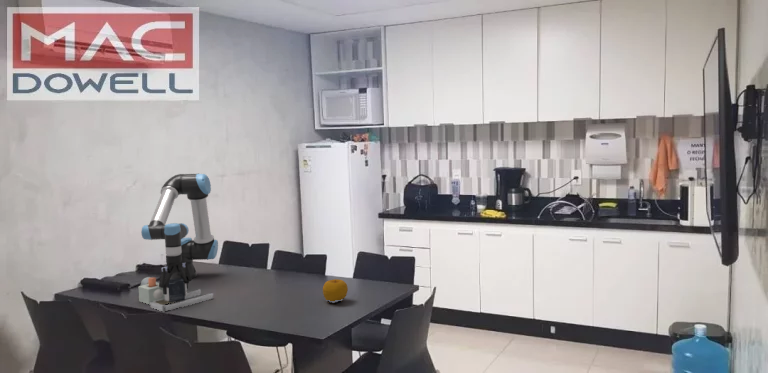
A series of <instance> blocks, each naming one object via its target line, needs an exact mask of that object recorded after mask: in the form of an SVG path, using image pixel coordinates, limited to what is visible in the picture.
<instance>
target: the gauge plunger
mask: <svg viewBox="0 0 768 373" xmlns="http://www.w3.org/2000/svg"><path fill="white" fill-rule="evenodd" d="M148 282H149V287H155V286H156V282H157V277H155V276H154V277H153V276H152V277H151V278H148Z"/></svg>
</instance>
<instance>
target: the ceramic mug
mask: <svg viewBox="0 0 768 373" xmlns="http://www.w3.org/2000/svg"><path fill="white" fill-rule="evenodd" d="M148 278H151V277H150V276H147V277H144V278H143V279H142V280H141V281H140V286H142V285H146V284H149V282H148Z"/></svg>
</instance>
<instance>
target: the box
mask: <svg viewBox="0 0 768 373" xmlns="http://www.w3.org/2000/svg"><path fill="white" fill-rule="evenodd" d="M167 288H169V302H173V303H174V302H175V301H177V302H179V301H183V300H186V299H185V293H184V280H183V278H176V279H170V281H169V284H168V286H167ZM175 303H176V302H175Z"/></svg>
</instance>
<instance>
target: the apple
mask: <svg viewBox="0 0 768 373" xmlns="http://www.w3.org/2000/svg"><path fill="white" fill-rule="evenodd" d="M348 290H349V287H348V284H347V282H345V281H344V280H343V279H337V278H335V279H329V280H327V281H325V282H324V284H323V287H322V294H323V297H324V299H325V301H326V300H330V301H335V300H341V299H343V298H344V299H345V298H346V296H347V295H348ZM344 299H343V300H344Z"/></svg>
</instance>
